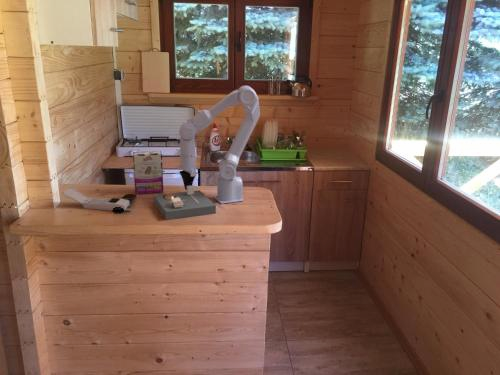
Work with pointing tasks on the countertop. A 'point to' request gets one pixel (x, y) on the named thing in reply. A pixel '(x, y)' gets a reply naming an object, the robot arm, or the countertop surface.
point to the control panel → (185, 205)
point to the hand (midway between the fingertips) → (188, 189)
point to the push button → (169, 196)
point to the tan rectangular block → (190, 190)
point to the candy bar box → (148, 172)
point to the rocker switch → (177, 202)
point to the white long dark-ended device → (97, 201)
